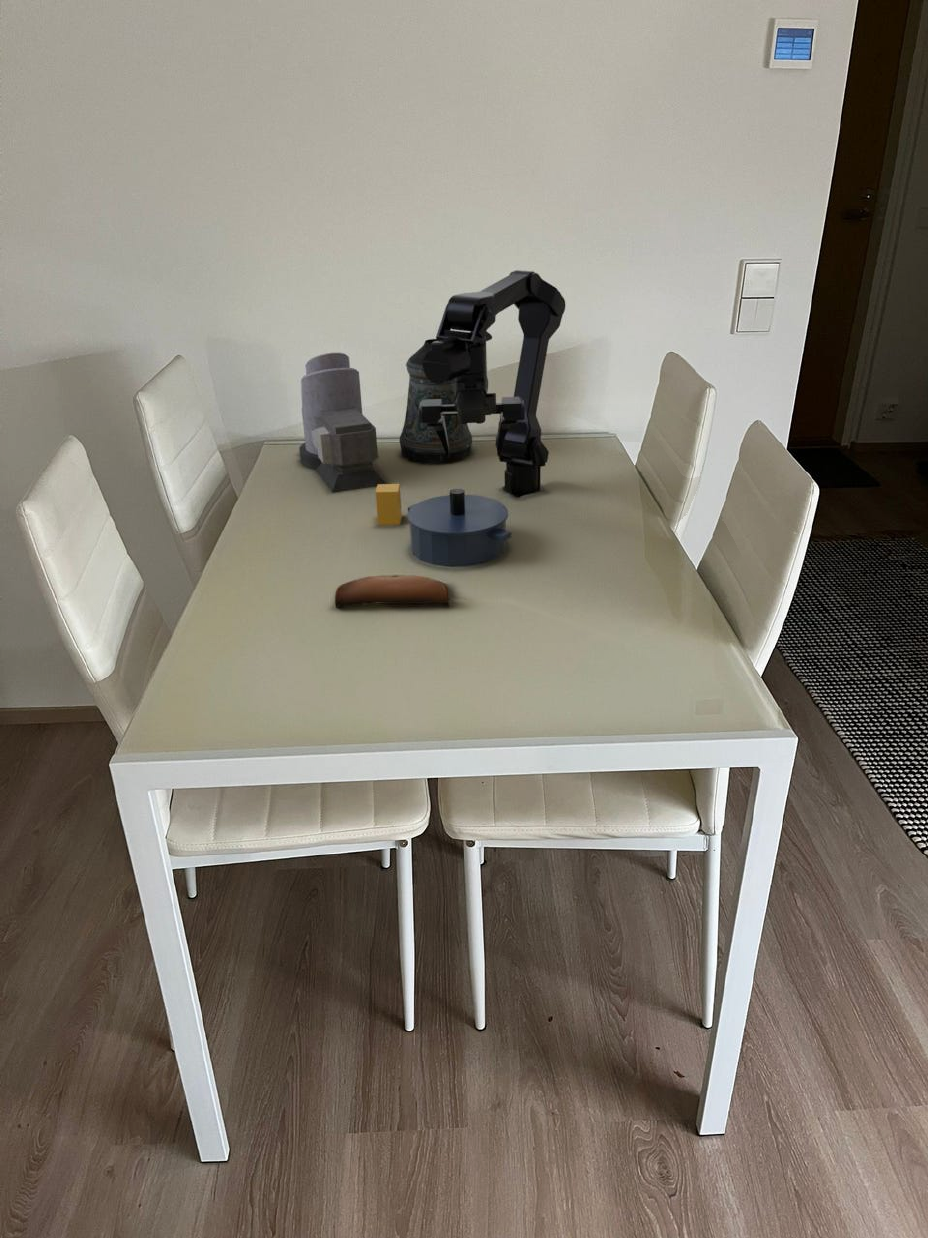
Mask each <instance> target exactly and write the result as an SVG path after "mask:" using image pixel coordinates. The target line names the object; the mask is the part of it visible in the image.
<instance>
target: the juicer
mask: <svg viewBox="0 0 928 1238" xmlns="http://www.w3.org/2000/svg"><path fill="white" fill-rule="evenodd" d="M360 381H361V380H360V372H359V371H358V370H357V369H356V368H353V367H351V364H350V356H349V355H347V354H346V353H344V352H327V353H321V354H319V355H316V356H314V357H311V358H310V359H309V360H307V362H306V363H305V375H302V378H301V379H300V388H301V389H300V393H301V417H302V426H303V435H304V436H303V437H304V442H303V443H302V444H300V446H299V448H298V450H299V451H298V452H299V459H300V464H301V465H302V466H303V467H305V468H308V469H310V470H314V471H316V472H317V474H318V476H320V478H321V479H322V481H323V482H324V484H325V485H326V486H327V488H328V489H329V491H330V492H331V493H338V492H344V491H351V490H357V489H363V488H370V487H377V485H378V484H388V483H387V482H386V481H385V480H384V478H383V477H382V476H381V475H380V474H379V473H378V471H376V470H375V468H374V467H373V466H374V465H373V463H374V462H375V460H377V459H378V458H379V453H378V440H377V439H378V438H377V427H376V426H375V425H374V424H373V423H372V422H371V421H370V420H369V419H368V418H367V417H366V416H365V415H364V414H363V404H362V393H361V391H362V390H361V382H360Z"/></svg>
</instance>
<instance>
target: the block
mask: <svg viewBox="0 0 928 1238" xmlns="http://www.w3.org/2000/svg"><path fill="white" fill-rule="evenodd" d="M401 496H402V495H401V484H400V483H387V484H378V485H377V486H376V489H375V504H376V516H377V525H378V526H397V525H398V526H399V525H401V523H402V517H403V513H402V497H401Z"/></svg>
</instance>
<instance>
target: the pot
mask: <svg viewBox="0 0 928 1238" xmlns="http://www.w3.org/2000/svg"><path fill="white" fill-rule="evenodd" d="M416 504H418V503H414V504H412V505H410V506H407V512H408V511H409V510H410V509H411V508H412V507H413V506H414V505H416ZM409 534H410V535H409V536H410V548H411V552H412V555H413V556H414V557H416V558H417V559H419V561H422V562H424V563H427V564H430V565H434V566H440V567H441V566H442V567H448V568H453V567H454V568H457V567H458V568H459V567H471V566H477V565H483V564H485V563H488V562H490V561H493V560H496V559H497V558H498V557H500V556H501V555H503V554H504V552H505V550H506V548H507V540H509V539H511V538H512V532H511V531H509V530H507V520H506V521H505V522H504V523H503V524H501V525H500V526H498V527H496V528H494V529H491V530H488V531H485V532H481V533H476V534H470V535H439V534H433V533H428V532H424V531H421V530H419V529H417V528H415V527H413V526H412V525H411V524H410V523H409Z"/></svg>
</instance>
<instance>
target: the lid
mask: <svg viewBox="0 0 928 1238" xmlns="http://www.w3.org/2000/svg"><path fill="white" fill-rule="evenodd" d="M415 504H416V503H415ZM413 505H414V504H413ZM406 517H407V518H406V519H407V521H408V523H409V525H410V524H411V525H412V526H413V527H415V528H417V529H419V530H421V531H424V532H428V533H433V534H439V535H470V534H476V533H481V532H485V531H488V530H491V529H494V528H496V527H498V526H500V525H501V524H503V523H504V522H505V521H506V522H507V520H508V518H509V509H508V507H507V506H506V505H505V504H503V503H502V502H501V501H499V500H496V499H494V498H491V497H488V496H482V495H474V494H465V490H464V489H463V488H452V489H450V490H449V493H448V495H447V494H446V495H441V496H435V497H431V498H428V499H427V498H426V499H425V500H422V501H419V502H418V503H417V504H416V505H414V506H413V507H412V508H411V509H410V510H409V511H408V510H407V515H406Z"/></svg>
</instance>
